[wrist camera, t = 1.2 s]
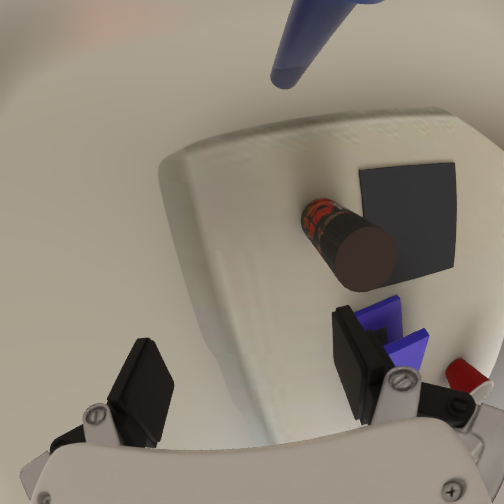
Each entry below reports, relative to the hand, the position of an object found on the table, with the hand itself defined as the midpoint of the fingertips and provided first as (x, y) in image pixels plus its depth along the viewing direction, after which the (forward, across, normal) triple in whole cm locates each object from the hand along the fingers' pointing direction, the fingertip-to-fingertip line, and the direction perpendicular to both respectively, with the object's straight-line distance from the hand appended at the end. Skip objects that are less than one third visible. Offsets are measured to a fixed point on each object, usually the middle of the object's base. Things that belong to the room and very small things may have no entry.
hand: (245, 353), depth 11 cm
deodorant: (+26, -10, +2) cm, 28 cm away
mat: (+26, -25, +5) cm, 36 cm away
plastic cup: (+26, -42, +43) cm, 65 cm away
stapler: (+26, -19, +31) cm, 45 cm away
